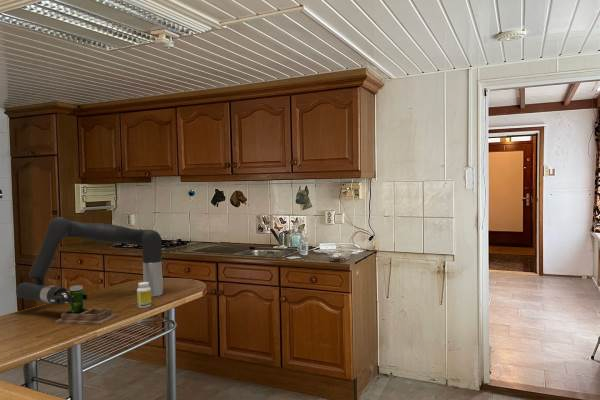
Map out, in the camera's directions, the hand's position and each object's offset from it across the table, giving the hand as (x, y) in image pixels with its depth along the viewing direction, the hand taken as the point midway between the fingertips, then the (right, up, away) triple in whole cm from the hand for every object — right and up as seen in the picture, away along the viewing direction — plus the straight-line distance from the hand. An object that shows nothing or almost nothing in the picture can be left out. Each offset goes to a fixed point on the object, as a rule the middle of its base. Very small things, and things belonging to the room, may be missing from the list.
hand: (80, 298), depth 188 cm
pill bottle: (+20, -8, +19) cm, 29 cm away
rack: (+2, -9, +1) cm, 9 cm away
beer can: (-2, -7, +1) cm, 8 cm away
